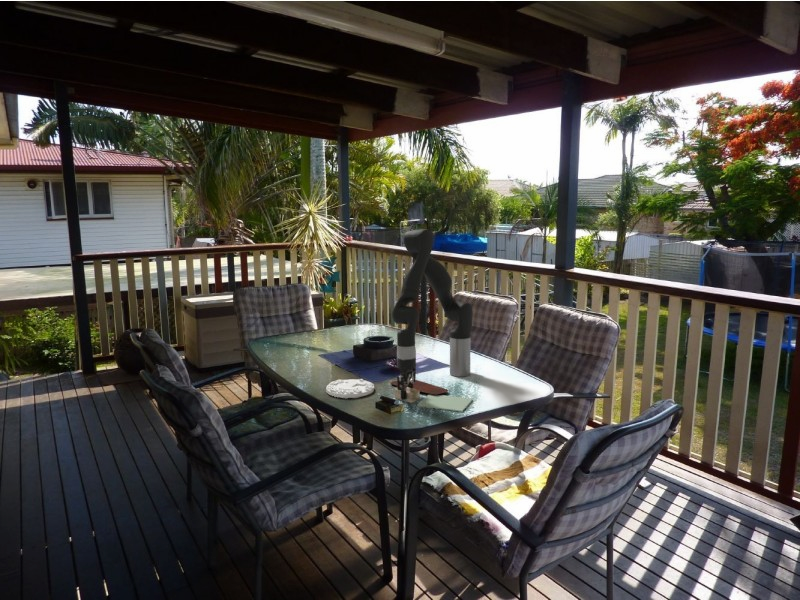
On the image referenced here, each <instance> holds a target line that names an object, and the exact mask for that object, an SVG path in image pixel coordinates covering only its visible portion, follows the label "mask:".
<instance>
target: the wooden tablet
mask: <svg viewBox="0 0 800 600" xmlns="http://www.w3.org/2000/svg"><path fill="white" fill-rule="evenodd" d="M404 383H406V382H404ZM389 384H391V385H392V386H396V387H398V384H397V380H392V381H391V382H389ZM413 389H416V390H420V393H425V394H428V395H429V394H436V395H442V394H443V393H448V391H449V389H447V388H444V387H442V386H438V385H434V384H432V383H428V382H425V381H422V380H419V379H416V381H415V382H414V385H413ZM449 392H450V391H449Z"/></svg>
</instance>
